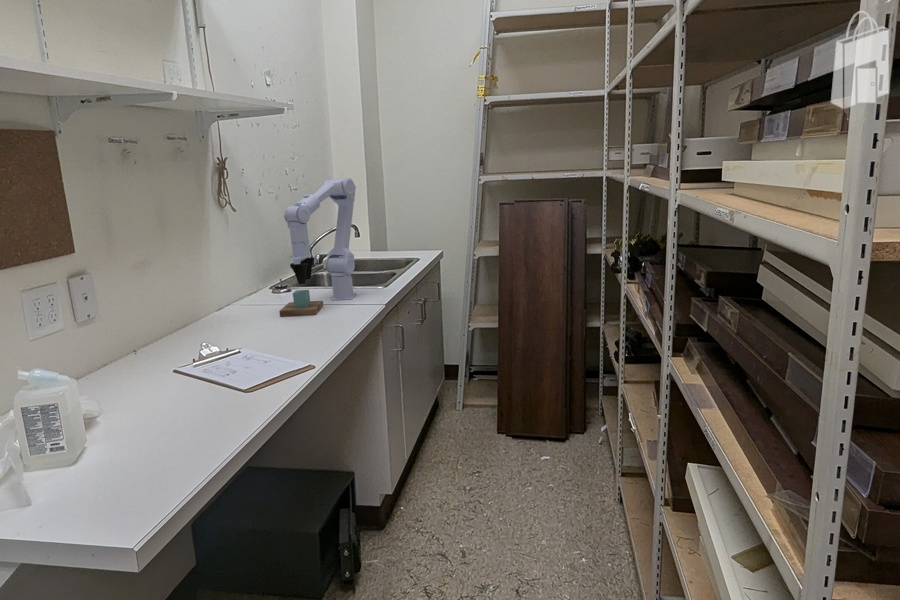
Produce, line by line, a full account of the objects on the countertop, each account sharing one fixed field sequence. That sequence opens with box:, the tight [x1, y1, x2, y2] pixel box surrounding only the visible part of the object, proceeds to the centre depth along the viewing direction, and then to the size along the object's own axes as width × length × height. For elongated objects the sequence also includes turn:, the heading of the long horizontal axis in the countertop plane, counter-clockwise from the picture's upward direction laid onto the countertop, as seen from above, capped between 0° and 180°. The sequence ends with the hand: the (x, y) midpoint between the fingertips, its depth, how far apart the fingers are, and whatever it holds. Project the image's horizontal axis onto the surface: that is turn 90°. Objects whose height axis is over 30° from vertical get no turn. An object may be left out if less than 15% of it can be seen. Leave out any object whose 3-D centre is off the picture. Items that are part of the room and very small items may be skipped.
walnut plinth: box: [278, 300, 324, 318], centre depth 198 cm, size 12×12×2 cm
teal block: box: [292, 289, 311, 308], centre depth 197 cm, size 4×4×5 cm
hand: (304, 281), depth 196 cm, fingers open, 7 cm apart
